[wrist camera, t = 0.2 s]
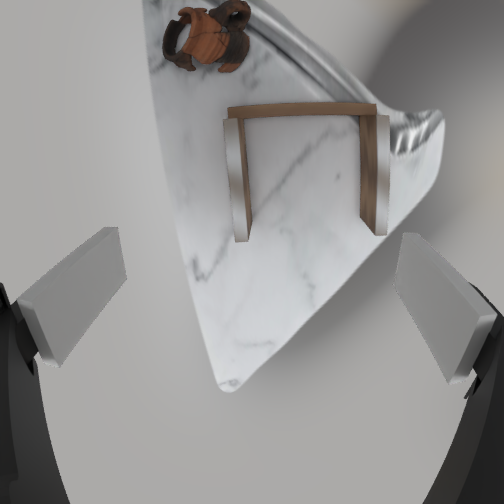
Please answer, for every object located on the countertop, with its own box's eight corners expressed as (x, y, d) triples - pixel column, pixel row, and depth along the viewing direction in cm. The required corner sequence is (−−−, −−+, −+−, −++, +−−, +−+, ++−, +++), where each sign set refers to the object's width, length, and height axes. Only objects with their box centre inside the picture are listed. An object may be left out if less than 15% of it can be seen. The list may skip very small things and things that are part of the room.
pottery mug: (220, 92, 37) (166, 83, 31) (201, 48, 38) (152, 37, 32) (283, 31, 28) (227, 6, 22) (254, -9, 29) (203, -30, 23)
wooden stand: (230, 108, 37) (221, 105, 30) (369, 104, 35) (388, 102, 28) (241, 222, 43) (235, 242, 36) (370, 216, 41) (386, 235, 35)
